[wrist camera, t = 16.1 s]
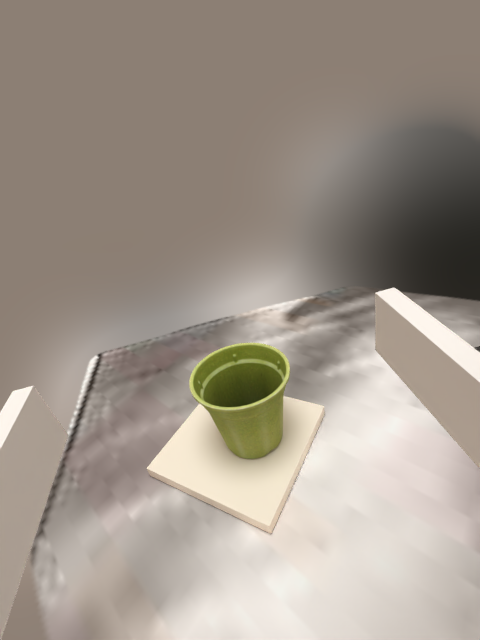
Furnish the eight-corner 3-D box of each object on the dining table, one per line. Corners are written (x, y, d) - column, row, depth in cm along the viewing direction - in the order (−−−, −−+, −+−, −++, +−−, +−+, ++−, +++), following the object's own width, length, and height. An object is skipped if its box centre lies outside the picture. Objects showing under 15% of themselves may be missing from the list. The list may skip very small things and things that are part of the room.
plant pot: (219, 403, 42) (201, 345, 37) (299, 400, 40) (290, 338, 35) (201, 474, 34) (176, 411, 29) (299, 475, 32) (288, 407, 27)
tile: (324, 413, 39) (324, 406, 38) (271, 534, 29) (269, 526, 28) (221, 386, 46) (219, 379, 45) (150, 475, 36) (146, 468, 36)
